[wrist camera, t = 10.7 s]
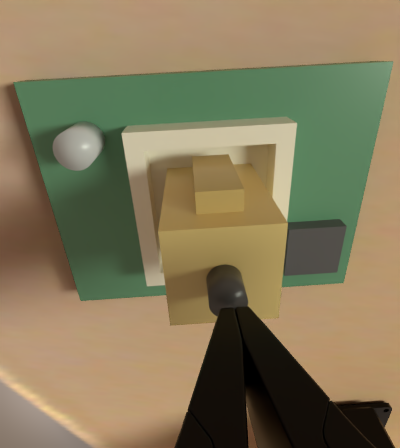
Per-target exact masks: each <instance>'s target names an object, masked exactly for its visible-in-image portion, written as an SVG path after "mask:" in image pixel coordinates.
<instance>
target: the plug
mask: <svg viewBox="0 0 400 448" xmlns="http://www.w3.org/2000/svg"><path fill="white" fill-rule="evenodd" d="M192 166H193V167H183V168H167V174H166V181H165V188H164V195H163V202H162V209H161V216H160V223H159V230H158V234H159V242H160V249H161V257H162V265H163V272H164V280H165V288H166V295H167V303H168V311H169V318H170V326H171V325H185V324H199V323H214V322H216V320H217V317H218V314H219V311H220V309H221V308H227V307H233V308H234V309H235V308H236V307H242V306H248V307H250V308H251V309H252V310H253V312H254V313H255V314H256V315H257V316H258V317H259V318H260V319H271V318H278V317H279V308H280V298H281V288H282V278H283V269H284V259H285V249H286V239H287V230H288V222H287V221H286V219H285V217H284V216H283V214H282V213H281V211H280V209H279V208H278V206H277V204H276V203H275V201H274V200H273V198H272V196H271V195H270V193H269V192H268V190H267V188H266V187H265V185H264V184H263V182H262V180H261V179H260V177H259V176H258V174H257V172H256V171H255V169H254V168H253V166H252V164H251V163H249V164H233V163H232V161H231V159H230V156H229V154H225V155H209V156H192Z"/></svg>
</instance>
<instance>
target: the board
mask: <svg viewBox="0 0 400 448" xmlns="http://www.w3.org/2000/svg"><path fill="white" fill-rule="evenodd" d="M392 66H393V61H370V62H352V63H333V64H315V65H297V66H279V67H261V68H242V69H224V70H206V71H188V72H170V73H151V74H133V75H115V76H97V77H79V78H60V79H42V80H25V81H19V82H13V83H14V86H15V89H16V93H17V96H18V99H19V102H20V106H21V109H22V112H23V115H24V119H25V122H26V125H27V128H28V132H29V135H30V138H31V141H32V145H33V148H34V151H35V154H36V158H37V161H38V164H39V167H40V171H41V174H42V177H43V180H44V183H45V187H46V190H47V193H48V196H49V200H50V203H51V206H52V209H53V213H54V216H55V219H56V222H57V226H58V229H59V232H60V235H61V239H62V242H63V245H64V248H65V252H66V255H67V258H68V261H69V265H70V268H71V271H72V274H73V278H74V281H75V284H76V287H77V291H78V294H79V297H80V300H81V301H86V300H101V299H115V298H130V297H145V296H159V295H166V288H165V280H164V272H163V265H162V257H161V249H160V242H159V234H158V230H159V223H160V216H161V209H162V202H163V195H164V188H165V181H166V174H167V168H183V167H193V166H192V156H209V155H225V154H229V156H230V159H231V161H232V163H233V164H249V163H251V164H252V166H253V168H254V169H255V171H256V172H257V174H258V176H259V177H260V179H261V180H262V182H263V184H264V185H265V187H266V188H267V190H268V192H269V193H270V195H271V196H272V198H273V200H274V201H275V203H276V204H277V206H278V208H279V209H280V211H281V213H282V214H283V216H284V217H285V219H286V221H287V222H288V230H287V239H286V249H285V259H284V269H283V278H282V287H291V286H306V285H321V284H335V283H344V279H345V274H346V270H347V265H348V261H349V257H350V252H351V248H352V243H353V239H354V234H355V230H356V226H357V221H358V217H359V212H360V208H361V203H362V199H363V194H364V190H365V186H366V181H367V177H368V172H369V168H370V163H371V159H372V154H373V150H374V146H375V141H376V137H377V132H378V128H379V123H380V119H381V114H382V110H383V106H384V101H385V97H386V92H387V88H388V83H389V79H390V74H391V70H392Z"/></svg>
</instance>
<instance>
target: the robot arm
mask: <svg viewBox="0 0 400 448" xmlns="http://www.w3.org/2000/svg"><path fill="white" fill-rule="evenodd" d="M329 401H330V398H329V397H328V396H327V395H326V394H325V392H324V391H323V390H322V389H321V388H320V387H319V386H318V384H317V383H316V382H315V381H314V380H313V379H312V378H311V376H310V375H309V374H308V373H307V372H306V371H305V370H304V368H303V367H302V366H301V365H300V364H299V363H298V362H297V361H296V359H295V358H294V357H293V356H292V355H291V354H290V353H289V351H288V350H287V349H286V348H285V347H284V346H283V345H282V343H281V342H280V341H279V340H278V339H277V338H276V337H275V335H274V334H273V333H272V332H271V331H270V330H269V329H268V328H267V326H266V325H265V324H264V323H263V322H262V321H261V320H260V318H259V317H258V316H257V315H256V314H255V313H254V312H253V310H252V309H251V308H250V307H248V306H242V307H236V308H235V309H234V308H233V307H227V308H221V309H220V311H219V314H218V317H217V320H216V323H215V326H214V329H213V333H212V336H211V339H210V342H209V345H208V348H207V351H206V354H205V357H204V360H203V364H202V367H201V370H200V373H199V376H198V379H197V382H196V385H195V388H194V391H193V394H192V398H191V401H190V404H189V407H188V412H187V413H186V416H185V419H184V422H183V425H182V428H181V431H180V433H179V436H178V439H177V442H176V444H175V447H174V448H248V430H247V411H246V404H247V408H248V412H249V416H250V420H251V424H252V428H253V432H254V435H255V439H256V443H257V447H258V448H395V447H394V445H393V443H392V441H391V439H390V437H389V435H388V434H387V432H386V430H385V428H384V427H385V425H386V423H387V420H388V418H389V416H390V413H391V411H392V408H391V406H390V405H389V403H374V404H360V405H347V406H336V405H335V404H334V402H333V401H330V402H329Z"/></svg>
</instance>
